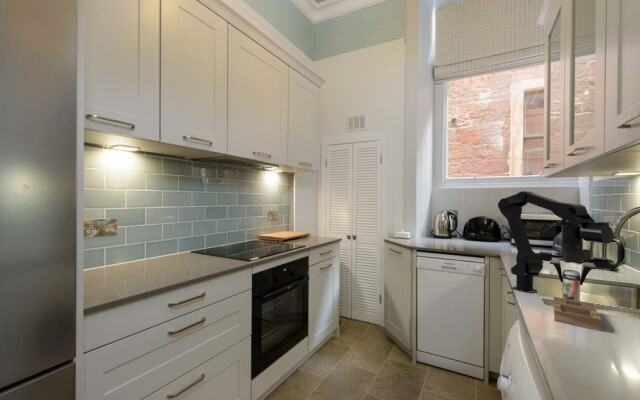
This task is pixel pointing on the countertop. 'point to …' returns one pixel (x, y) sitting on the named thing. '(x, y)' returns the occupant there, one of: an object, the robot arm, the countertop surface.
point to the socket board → (576, 313)
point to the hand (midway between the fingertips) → (571, 283)
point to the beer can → (571, 285)
